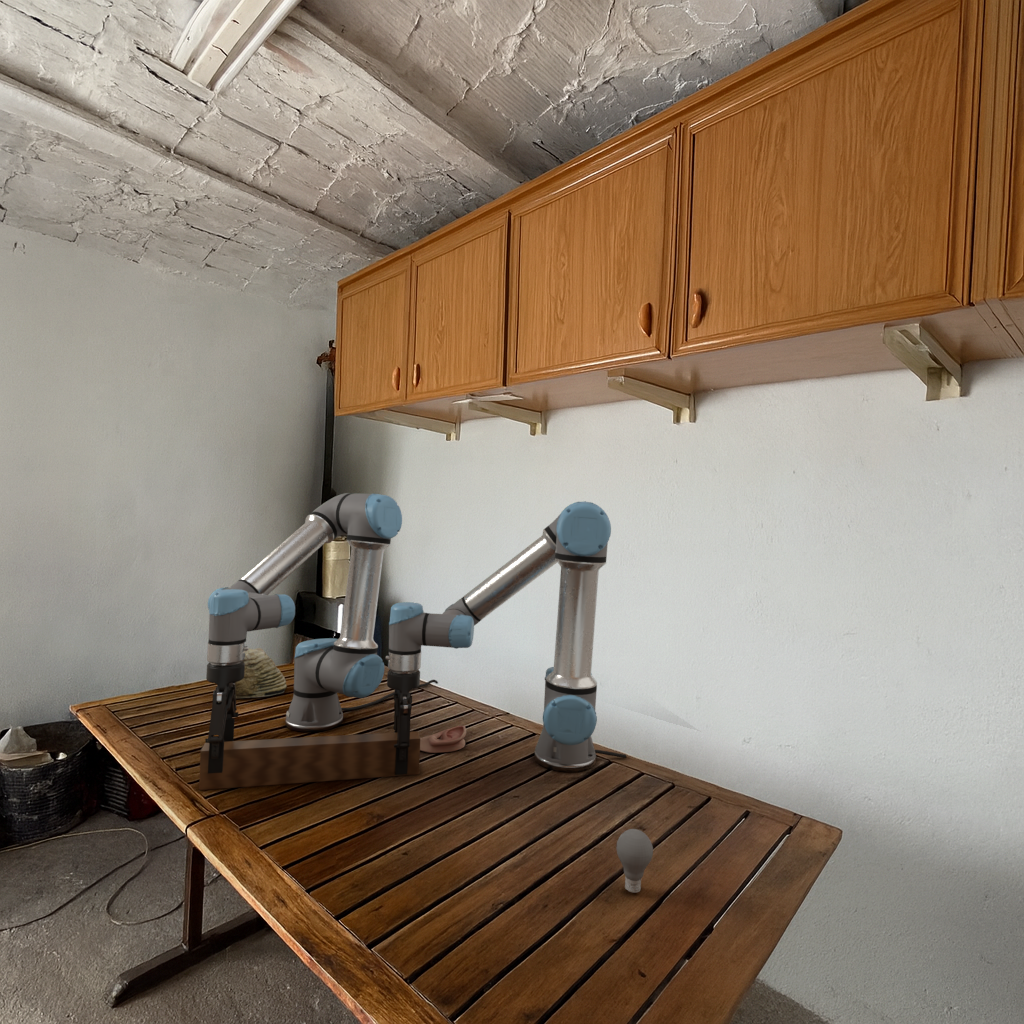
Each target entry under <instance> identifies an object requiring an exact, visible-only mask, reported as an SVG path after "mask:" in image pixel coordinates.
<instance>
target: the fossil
mask: <svg viewBox="0 0 1024 1024" xmlns="http://www.w3.org/2000/svg"><path fill="white" fill-rule="evenodd" d="M248 648H249V649H248V650H247V651H245V659H244V660H243V662H244V663H245V671H244V678H243V679H242V680H241V681H238V682H236V699H250V698H264V697H271V696H275V695H281V694H284V693H285V691H286V689H287V687H288V686H287V680H286V678H285V676H284V674H283V673H282V672H281V669H279V668H278V667H277V665H276V663H275V662H274V660H273V659H272V658H271V657H270V656H269V655H268V654H267V653H266V652H265V650H264V649H263V648H260V647H258V648H251V647H248Z"/></svg>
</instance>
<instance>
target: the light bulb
mask: <svg viewBox="0 0 1024 1024" xmlns="http://www.w3.org/2000/svg"><path fill="white" fill-rule="evenodd" d="M615 849H616V854H617V857H618V859H619V861H620V863H621V865H622V867H623V873H624V874H623V875H624V876H625V878H624V888H625V890H627V891H628V892H630V893H634V894H635V893H639V892H640V891H641V889H642V887H641V886H642V879H643V877H644V875H645V871H646V868H647V867H648V866H649V864H650V863H651V861H652V859H653V855H654V847H653V843H652V841H651V838H649V836H648V835H647V834H646V833H645V832H643V831H642V830H641V829H636V828H629V829H627V830H625V831H623V832H622V833H621V834H620V835H619V837H618V839H617V841H616V847H615Z"/></svg>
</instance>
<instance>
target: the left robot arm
mask: <svg viewBox="0 0 1024 1024" xmlns="http://www.w3.org/2000/svg"><path fill="white" fill-rule="evenodd" d="M402 524H403V514H402V511H401V508H400V506H399V505H398V503H397V501H396V500H395V499H394V498H393V497H391V496H390V495H385V494H380V493H359V492H357V493H356V492H346V493H345V492H344V493H340V494H339V495H335V496H334V497H332V498H330V499H328V500H327V501H325V502H323V503H322V504H320V505H319V506H318V507H316V508H314V510H313V511H311V512H310V513H309V514H307V515H306V517H305V519H304V523H303V524H302V525H301V526H300V527H299V528H297V529H296V530H295V531H294V532H293V533H292V534H291V535H290V536H288V537H287V538H286V539H284V541H282V542H281V543H279V545H278V546H277V547H275V548H274V549H273V550H272V551H271V552H270V553H268V554H267V555H266V556H265V557H264V558H263V559H261V560H260V561H259V562H258V563H257V564H255V565H254V566H253V567H252V568H251V569H250V570H248V571H247V572H246V573H245V574H244V575H243V576H241V577H240V578H239V579H238V580H237V581H236V582H235V583H233V584H232V585H231V586H230V587H228V586H227V587H226V586H225V587H219V588H217V589H215V590H214V591H212V593H211V594H210V595H209V597H208V599H207V609H208V615H209V617H208V642H207V653H206V661H207V662H208V663H207V664H206V675H205V676H206V678H205V679H206V681H207V682H208V683H211V684H216V687H215V689H214V690H213V693H212V705H211V711H210V712H211V713H210V720H209V727H208V729H209V730H208V736H207V738H205V740H204V742H205V743H209V760H208V773H222V772H223V756H224V742H229V741H235V740H234V737H235V718H239V711H237V710H238V708H237V698H236V682H238V681H241V680H242V679H243V678H244V671H245V663H244V662H243V660H244V659H245V651H247V650H248V649H249V648H250V647H249V646H248V645H247V635H248V632H254V631H260V630H268V629H278V628H281V627H286V626H288V625H290V624H291V623H292V622H293V621H294V618H295V616H296V605H295V601H294V600H293V599H292V597H291V596H290V595H288V594H284V593H283V594H278V593H275V594H271V593H272V592H273V591H274V590H275V589H276V588H277V587H278V586H280V585H281V584H282V583H283V582H284V581H285V580H286V579H287V578H289V576H290V575H292V573H293V572H295V571H297V569H299V567H300V566H302V564H304V563H305V562H306V561H307V560H308V559H309V558H311V556H313V554H315V553H316V552H317V551H318V550H319V549H320V548H321V547H322V546H323V545H324V544H330V543H332V542H334V541H335V539H337V538H338V537H341V536H344V535H345V536H346V543H348V545H349V546H350V557H349V565H348V573H347V582H346V589H345V598H344V606H343V612H342V613H343V614H342V621H341V628H340V629H341V630H340V635H339V638H335V637H333V638H332V637H329V638H315V639H308V640H304V641H302V642H299V643H298V644H297V645H296V646H295V652H294V653H295V654H294V656H293V659H294V661H293V662H294V663H293V664H294V668H293V695H292V696H293V697H292V699H291V702H290V704H289V708H288V710H287V711H286V712H285V726H286V728H287V729H289V730H291V731H294V732H295V731H296V732H301V733H316V732H325V731H329V730H332V729H335V728H337V727H339V726H340V725H342V723H343V722H344V714H343V712H350V711H355V710H360V709H364V708H367V707H370V706H371V707H372V706H374V705H376V704H378V703H381V702H383V701H384V700H387V699H388V698H391V697H394V693H395V691H393V692H390V693H388V694H386V695H384V696H382V697H381V698H379V699H376V700H374V701H371V702H368V703H364V704H361V705H357V706H350V707H342V706H341V702H340V699H339V695H338V694H340V695H344V696H346V697H348V698H357V699H365V698H367V697H369V696H370V695H372V694H373V693H374V692H375V691H376V689H378V687H379V686H380V685H381V683H382V681H383V678H384V675H385V663H384V661H383V658H382V657H381V656H379V655H378V648H379V645H378V643H376V642H375V640H374V634H375V627H376V617H377V609H378V600H379V592H380V584H381V575H382V567H383V560H384V552H385V550H386V549H388V548H389V547H390V546H391V542H392V541H391V540H392V539H393V538H395V537H397V535H398V534H399V532H400V531H401V529H402V526H403V525H402ZM432 683H435V684H437V685H438V684H439V681H438V680H436V679H431V680H428V681H427V682H424V683H420V685H419V687H417V688H416V689H418V688H423V687H426V686H428V685H430V684H432ZM205 743H204V744H205Z"/></svg>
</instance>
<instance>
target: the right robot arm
mask: <svg viewBox="0 0 1024 1024" xmlns="http://www.w3.org/2000/svg"><path fill="white" fill-rule="evenodd" d="M611 534H612V525H611V521H610V518H609V516H608V514H607V513H606V512H605V510H604V509H603V508H602V507H601V506H599V505H598V504H596V503H593V502H591V501H586V500H585V501H584V500H583V501H576V502H573V503H571V504H568V505H567V506H566V507H565V508H564V509H563V510H562V511H561V512H560V514H558V516H557V517H556V518H555V519H554V520H553V521H552V522H551V523H550V524H548V525H547V526H546V527H545V528H543V529H542V534H541V536H540V537H538V538H537V539H536V540H534V541H533V542H531V544H529V545H528V546H527V547H525V548H524V549H523V550H521V551H520V552H519V553H517V554H516V555H515V556H514V557H512V558H511V559H510V560H508V561H507V562H506V563H504V564H503V565H501V566H500V568H498V569H497V570H496V571H494V572H492V574H491V575H489V576H488V577H486V578H485V579H484V580H482V581H481V582H480V583H478V584H477V585H476V586H475V587H473V588H472V589H471V590H469V592H466V594H465V595H463V596H462V597H461V598H459V599H457V601H454V603H452V604H451V605H449V606H448V607H447V608H445V610H444V611H443V612H442V613H429V612H424V606H423V605H422V604H421V603H419V602H414V601H413V602H411V601H403V602H396V603H394V604H392V606H391V607H390V615H389V622H388V655H385V660H386V661H387V668H388V670H387V677H386V685H387V687H388V688H389V689H391V690H394V692H395V693H394V695H393V701H394V704H393V710H394V713H393V714H394V715H393V727H392V729H393V730H394V731H393V733H395V732H397V744H395V745H394V748H396V761H395V775H402V776H404V775H403V774H407V767H408V747H409V746H410V732H411V717H412V708H413V706H412V704H413V695H412V692H410V691H412V690H415V689H418V688H417V687H419V685H421V671H420V669H421V668H422V647H423V646H425V647H437V648H452V649H468V648H471V646H472V645H473V640H474V635H475V626H476V625H477V624H479V623H480V622H481V621H482V620H484V619H485V618H486V617H487V616H489V615H490V614H492V612H494V611H496V609H498V608H500V607H501V606H502V605H503V604H505V603H506V602H508V601H509V600H510V599H511V598H513V597H514V596H515V595H516V594H518V593H519V592H521V591H522V590H523V589H524V588H526V587H527V586H528V585H530V584H531V583H533V582H534V581H535V580H536V579H537V578H539V577H541V575H543V574H544V573H546V572H547V571H548V570H549V569H551V568H552V567H553V566H555V565H556V564H558V565H559V566H560V576H559V591H558V604H557V618H556V631H555V644H554V660H553V666H551V667H548V668H547V669H546V670H545V677H544V699H543V713H542V724H543V725H542V729H541V733H540V734H539V737H538V740H537V743H536V745H535V748H534V760H535V761H536V762H537V763H538V765H540V766H542V767H544V768H547V769H549V770H552V771H556V772H564V773H576V772H584V771H587V770H590V769H592V768H593V767H594V766H595V765H596V761H597V754H599V755H603V756H604V755H606V756H611V757H616V758H621V759H626V758H627V754H624V753H617V752H612V751H606V750H600V749H595V745H594V741H593V737H592V735H593V734H594V732H595V729H596V725H597V724H598V723H597V722H598V716H597V711H596V707H597V706H596V705H597V704H596V703H597V689H598V681H597V680H596V679H595V677H594V676H593V673H592V667H593V654H594V642H595V641H594V639H595V626H596V615H597V613H596V612H597V599H598V587H599V573H600V572H599V571H600V570H601V569H602V568H603V567H604V566H605V565H606V564H607V556H608V543H609V541H610V538H611ZM419 688H420V687H419Z"/></svg>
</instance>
